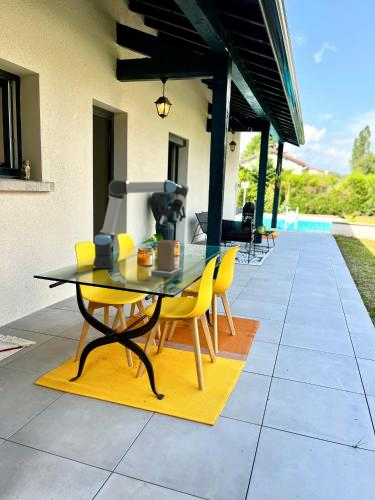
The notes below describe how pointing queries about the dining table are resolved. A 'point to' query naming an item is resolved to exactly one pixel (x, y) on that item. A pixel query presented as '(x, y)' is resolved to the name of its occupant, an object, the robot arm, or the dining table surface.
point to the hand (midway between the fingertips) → (169, 223)
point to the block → (165, 255)
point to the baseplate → (166, 273)
